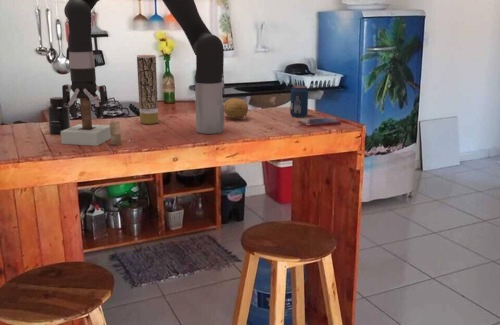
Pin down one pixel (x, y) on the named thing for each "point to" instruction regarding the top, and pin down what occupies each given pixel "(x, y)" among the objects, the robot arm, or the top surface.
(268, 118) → the top surface
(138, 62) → the paper tube
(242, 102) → the potato
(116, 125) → the short pin
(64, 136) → the hole block
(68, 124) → the supplement bottle
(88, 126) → the long pin
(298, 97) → the soda can
